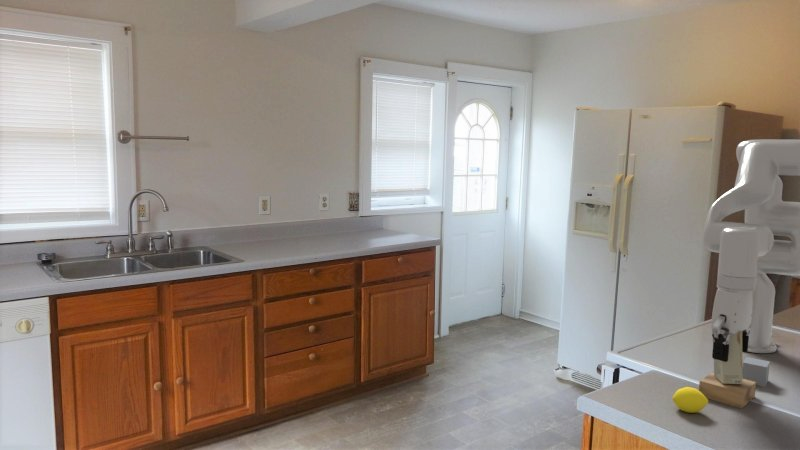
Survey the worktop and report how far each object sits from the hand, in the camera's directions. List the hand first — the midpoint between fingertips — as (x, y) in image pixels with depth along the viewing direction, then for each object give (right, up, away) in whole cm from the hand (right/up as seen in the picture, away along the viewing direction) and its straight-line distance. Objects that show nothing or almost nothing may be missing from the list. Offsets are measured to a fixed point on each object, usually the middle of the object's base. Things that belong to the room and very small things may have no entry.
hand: (730, 355), depth 134 cm
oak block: (0, -10, +1) cm, 10 cm away
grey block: (+12, -9, +10) cm, 18 cm away
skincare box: (0, -6, +1) cm, 6 cm away
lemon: (-13, -11, -7) cm, 18 cm away
